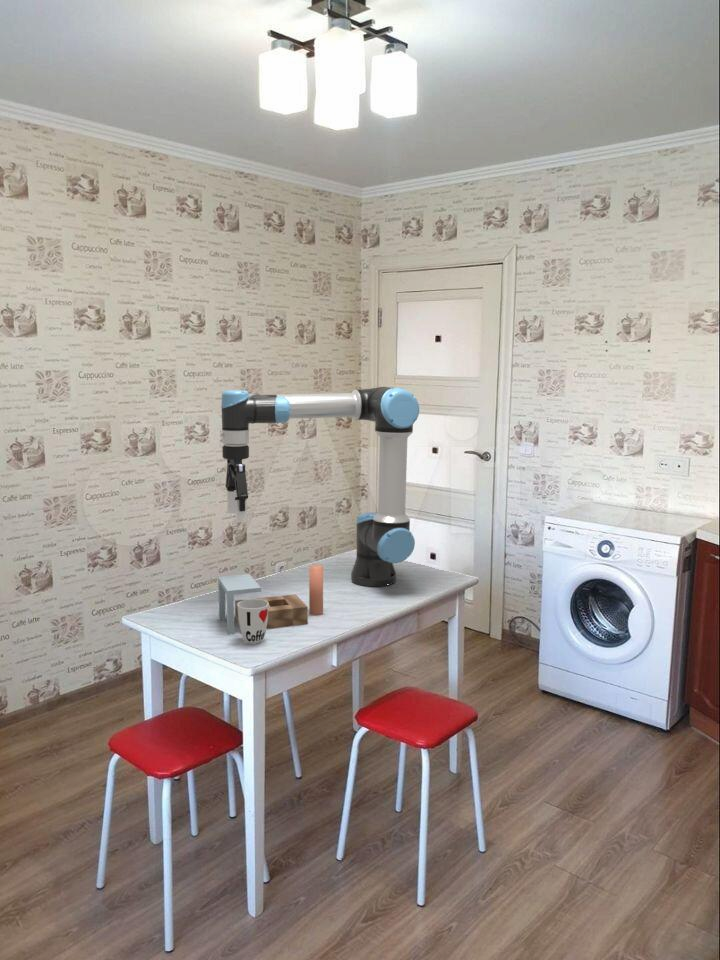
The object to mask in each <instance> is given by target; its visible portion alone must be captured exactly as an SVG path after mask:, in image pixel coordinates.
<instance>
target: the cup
mask: <svg viewBox="0 0 720 960" xmlns="http://www.w3.org/2000/svg"><path fill="white" fill-rule="evenodd" d="M242 600H243V601H240V602H239V603H238V604H237V606H238V619H239V623H238V624H239V629H240V634H241V637H242V640H243V642H244V643H246V644H252V645H253V644H259V643H261V642H262V643H263V641H264V638H265V636H266V632H267V629H266V627H267V621H268V607H269V603H268V602H267V601H265V600H261V599H255V598H248V600H245V599H242Z"/></svg>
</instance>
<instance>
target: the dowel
mask: <svg viewBox="0 0 720 960" xmlns="http://www.w3.org/2000/svg"><path fill="white" fill-rule="evenodd" d="M308 568H309V570H308V572H309V575H308V576H309V578H308V579H309V580H308V581H309V582H308V583H309V585H308V589H309V591H308V592H309V593H308V594H309V597H308V599H309V600H308V601H309V602H308V603H309V604H308V605H309V607H308V611H309V613H308V615H311V616H321V615H323V614H324V566H323V565H321V564H312V565H309V567H308Z"/></svg>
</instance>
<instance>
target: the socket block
mask: <svg viewBox="0 0 720 960" xmlns="http://www.w3.org/2000/svg"><path fill="white" fill-rule="evenodd" d="M248 599H249V598H248ZM248 599H247V598H246V599H237V600H235V599H234V619H236V621H237V622H238V624H239V619H238V606H237V604H238V603H239V602H240V601H243V600H248ZM254 599H261V600H265V601H267V602H268V603H269V607H268V621H267V627H266V630H269V629H270V630H271V629H278V628H285V627H292V626H294V627H295V626H303V625H308V624H309V622H308V621H309V619H308V618H309V617H308V615H309V613H308V611H309V607H308V605H307V604H305V602H304V601H303V600H302V599H301V598H300V597H299V596H298V595H297V593H296V594H295V593H294V594H293V593H292V594H285V595H276V596H275V595H274V596H268V597H267V596H266V597H257V598H254Z"/></svg>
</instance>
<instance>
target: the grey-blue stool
mask: <svg viewBox="0 0 720 960" xmlns="http://www.w3.org/2000/svg"><path fill="white" fill-rule="evenodd" d="M217 587H218V588H217V589H218V590H217V591H218V593H217V595H218V619H219V621H220V620H226V634H227V635H229V636H230V635H234V634H235V598H234V597H235V596H234V595H242V594H243V595H244V594H253V593H254V594H255V593H261V592H262V588H261V586H260V585H259V583H257V581H256V580H255V579H254V577H253V576H252V575H251V574H250V573H243V574H233V575H223V576H222V575H221V576H217Z"/></svg>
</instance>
